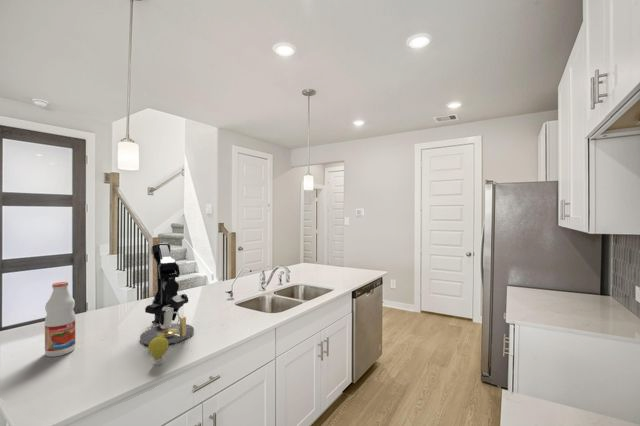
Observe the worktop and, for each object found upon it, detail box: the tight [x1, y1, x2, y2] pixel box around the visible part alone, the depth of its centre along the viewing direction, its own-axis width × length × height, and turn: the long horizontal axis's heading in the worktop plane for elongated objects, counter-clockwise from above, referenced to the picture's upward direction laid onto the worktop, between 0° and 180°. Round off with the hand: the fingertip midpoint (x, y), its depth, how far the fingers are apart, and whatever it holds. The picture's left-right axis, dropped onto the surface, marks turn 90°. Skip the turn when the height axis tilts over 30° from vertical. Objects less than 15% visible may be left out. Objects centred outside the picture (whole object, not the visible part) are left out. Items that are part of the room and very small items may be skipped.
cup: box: [159, 307, 180, 329], centre depth 138 cm, size 7×10×8 cm
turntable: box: [139, 315, 195, 346], centre depth 138 cm, size 22×22×10 cm
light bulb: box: [147, 336, 169, 366], centre depth 113 cm, size 7×7×10 cm
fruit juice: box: [44, 281, 76, 358], centre depth 122 cm, size 9×9×28 cm
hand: (167, 322), depth 138 cm, fingers closed on cup, 6 cm apart
